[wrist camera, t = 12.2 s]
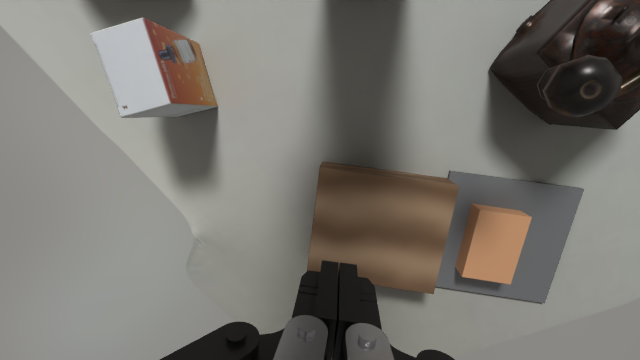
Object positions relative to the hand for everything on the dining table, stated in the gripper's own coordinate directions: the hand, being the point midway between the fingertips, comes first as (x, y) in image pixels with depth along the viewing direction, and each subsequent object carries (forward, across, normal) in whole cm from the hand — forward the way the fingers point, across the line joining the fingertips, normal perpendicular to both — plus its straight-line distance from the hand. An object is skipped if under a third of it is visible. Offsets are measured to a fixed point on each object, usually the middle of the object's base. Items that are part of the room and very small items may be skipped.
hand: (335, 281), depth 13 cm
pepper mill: (+27, -21, -12) cm, 36 cm away
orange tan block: (+23, -20, +8) cm, 32 cm away
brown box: (+26, -6, +7) cm, 28 cm away
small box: (+27, +20, -8) cm, 35 cm away
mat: (+26, -22, +8) cm, 35 cm away
